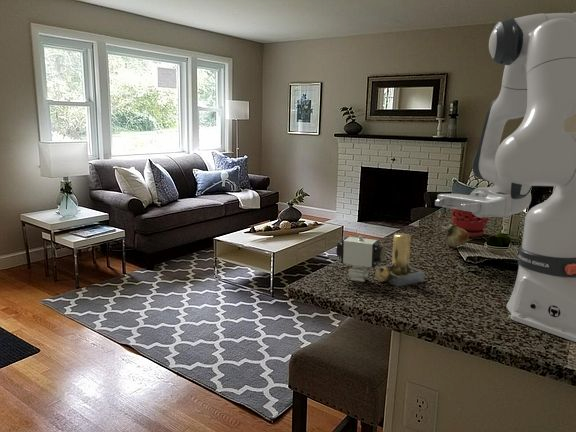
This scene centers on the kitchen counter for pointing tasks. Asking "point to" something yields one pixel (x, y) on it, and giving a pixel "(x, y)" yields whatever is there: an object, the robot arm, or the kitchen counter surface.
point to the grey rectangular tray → (385, 275)
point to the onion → (455, 235)
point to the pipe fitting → (401, 253)
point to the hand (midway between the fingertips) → (449, 205)
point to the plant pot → (469, 222)
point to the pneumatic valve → (360, 256)
